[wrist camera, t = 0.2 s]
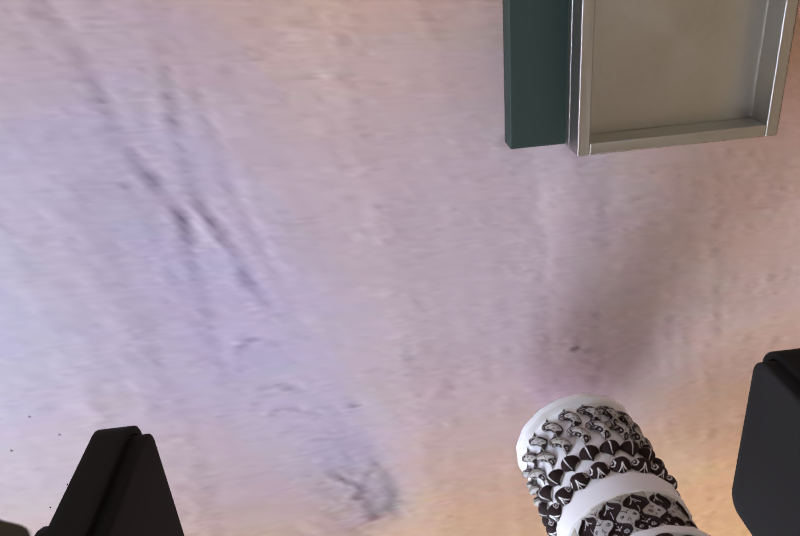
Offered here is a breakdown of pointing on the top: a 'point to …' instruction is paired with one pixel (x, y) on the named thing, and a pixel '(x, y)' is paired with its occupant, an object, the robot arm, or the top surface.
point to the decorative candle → (598, 473)
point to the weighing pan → (674, 71)
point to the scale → (535, 71)
